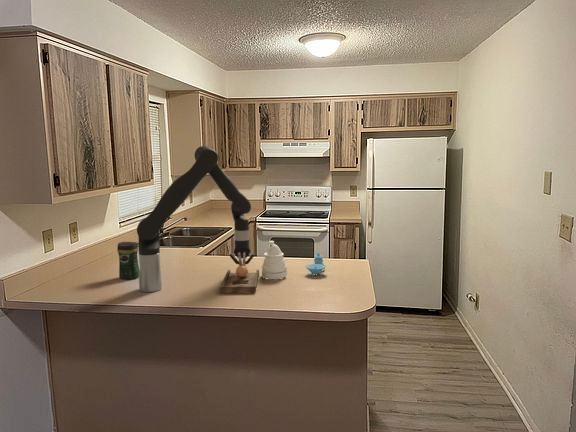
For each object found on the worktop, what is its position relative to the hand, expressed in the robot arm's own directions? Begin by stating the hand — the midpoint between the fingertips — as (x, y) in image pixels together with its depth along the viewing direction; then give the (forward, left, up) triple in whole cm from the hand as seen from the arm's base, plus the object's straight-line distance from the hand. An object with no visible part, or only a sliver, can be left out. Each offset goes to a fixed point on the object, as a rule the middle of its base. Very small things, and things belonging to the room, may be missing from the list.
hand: (242, 271), depth 223 cm
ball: (0, -7, +2) cm, 7 cm away
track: (0, -13, -2) cm, 13 cm away
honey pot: (+16, -1, -3) cm, 17 cm away
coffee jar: (-58, 0, -3) cm, 58 cm away
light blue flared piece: (+38, +5, -3) cm, 39 cm away
